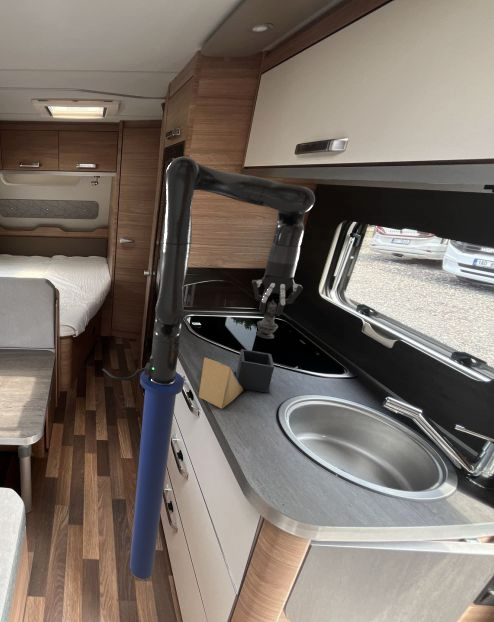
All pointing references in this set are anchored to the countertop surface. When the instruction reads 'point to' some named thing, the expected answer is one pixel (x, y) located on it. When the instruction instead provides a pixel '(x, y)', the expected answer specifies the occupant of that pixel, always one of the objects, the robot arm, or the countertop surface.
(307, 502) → the countertop surface
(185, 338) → the countertop surface
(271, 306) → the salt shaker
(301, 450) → the countertop surface
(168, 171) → the robot arm
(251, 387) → the trash bin
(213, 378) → the sandwich container
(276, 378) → the countertop surface
